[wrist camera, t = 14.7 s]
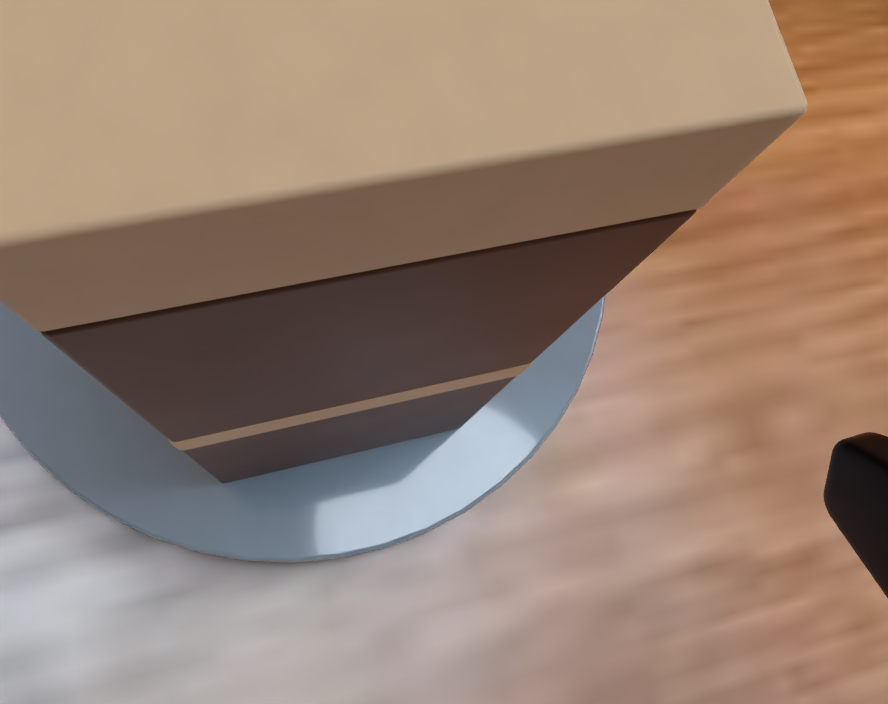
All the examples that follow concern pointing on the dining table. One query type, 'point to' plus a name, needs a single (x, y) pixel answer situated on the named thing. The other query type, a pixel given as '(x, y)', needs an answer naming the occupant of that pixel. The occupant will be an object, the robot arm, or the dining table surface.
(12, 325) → the plate
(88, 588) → the dining table surface
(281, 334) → the cake slice
